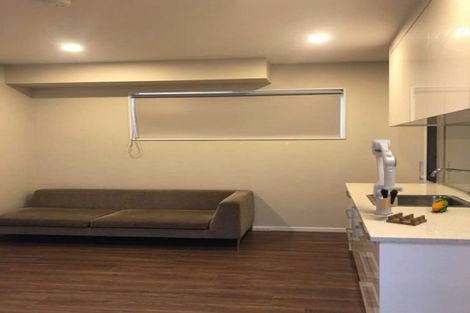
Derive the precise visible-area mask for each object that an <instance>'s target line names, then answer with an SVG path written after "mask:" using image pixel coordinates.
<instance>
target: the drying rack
mask: <svg viewBox="0 0 470 313" xmlns="http://www.w3.org/2000/svg"><path fill="white" fill-rule="evenodd" d="M403 214H404V213H403V212H398V213H397V212H396V213H395V214H394V213H393V214H390V215H387V219H385V222H386V223H389V222H390V223H391V224H396V225H397V224H398V225H404V226H405V225H406V226H410V227H412V226H413V227H416V226H419V225H421V224H424V223H427V222H428V219H427V218H426V215H425V214H422V215H419V216H417V217H415V216H414V213H410V214H409V213H408V214H407V215H403ZM390 223H389V224H390Z"/></svg>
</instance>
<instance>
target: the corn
mask: <svg viewBox="0 0 470 313" xmlns="http://www.w3.org/2000/svg"><path fill="white" fill-rule="evenodd" d="M434 201H435V202H433V203H432V206H431V209H432V211H433V212H436V213H437V212H439V213H444V212H446V211H447V209H448V208H449V207H448V206H449V202H448V201H447V200H446V199H444V198H436V199H435V200H434Z"/></svg>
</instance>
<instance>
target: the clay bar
mask: <svg viewBox="0 0 470 313" xmlns="http://www.w3.org/2000/svg"><path fill="white" fill-rule="evenodd" d="M395 207H398V196H396V198H395V201H394V204H391V197H388V198H383V199H380V208H381V209H388V208H392V209H393V208H395Z"/></svg>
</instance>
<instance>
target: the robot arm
mask: <svg viewBox="0 0 470 313" xmlns="http://www.w3.org/2000/svg"><path fill="white" fill-rule="evenodd" d="M390 148H391V140H390V139H374V138H373V139H372V141H371V153H372V155H373V156H375V159H376V162H375V163H376V173H377V174H376V175H377V182H376V183H374V185H373V191H372V193H373V197H374V199H375V212H372V213H373V214H375V215H382V216H389V215H392V214H394V212H393V211H392V209H393V207H392V208H388V209H381V208H380V199H383V198H388V197H391V204H394V201H395V198H396V197H397V196H398V193H399V192H404V187H398V186H396V168H397V157H396V156H395V155H393V153H392V150H390Z"/></svg>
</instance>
